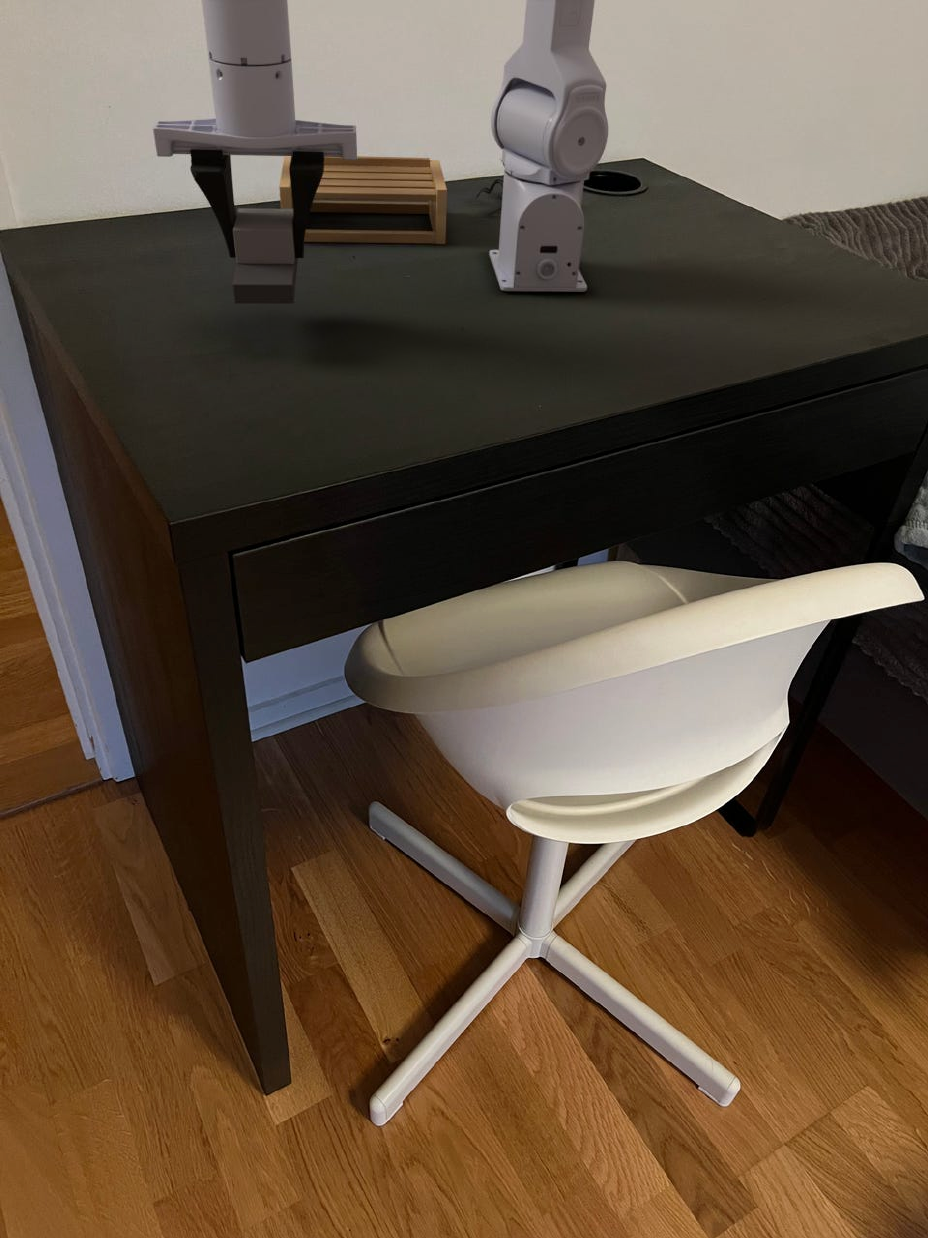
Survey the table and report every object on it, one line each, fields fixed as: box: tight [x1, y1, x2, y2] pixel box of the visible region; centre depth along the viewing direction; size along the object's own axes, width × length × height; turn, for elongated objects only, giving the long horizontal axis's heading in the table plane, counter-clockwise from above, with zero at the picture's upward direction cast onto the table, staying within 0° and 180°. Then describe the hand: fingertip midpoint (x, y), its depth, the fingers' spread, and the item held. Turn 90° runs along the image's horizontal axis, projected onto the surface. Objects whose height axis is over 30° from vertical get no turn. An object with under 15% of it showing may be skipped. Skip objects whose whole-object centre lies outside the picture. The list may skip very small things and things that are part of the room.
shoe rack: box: [278, 155, 448, 245], centre depth 96 cm, size 10×16×5 cm, turn 96°
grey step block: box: [231, 207, 299, 305], centre depth 73 cm, size 9×4×4 cm, turn 6°
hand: (267, 253), depth 75 cm, fingers closed on grey step block, 4 cm apart
